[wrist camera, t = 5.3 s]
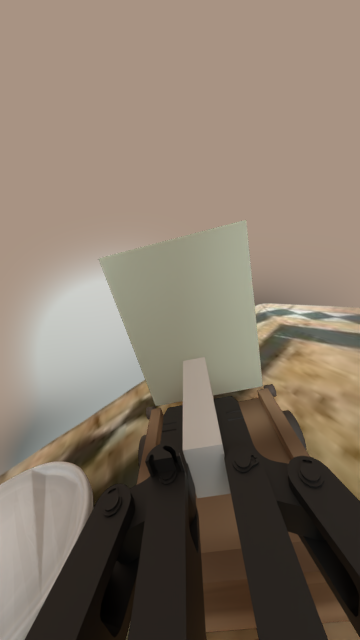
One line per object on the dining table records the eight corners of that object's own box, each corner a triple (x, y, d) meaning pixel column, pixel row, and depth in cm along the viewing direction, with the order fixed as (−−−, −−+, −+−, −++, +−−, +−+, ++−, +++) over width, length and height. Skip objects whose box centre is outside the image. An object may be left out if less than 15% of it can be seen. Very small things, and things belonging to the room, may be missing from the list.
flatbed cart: (395, 616, 10) (406, 562, 9) (124, 639, 12) (92, 594, 10) (278, 415, 23) (274, 378, 21) (155, 436, 24) (142, 402, 23)
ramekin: (139, 515, 17) (119, 472, 16) (-13, 885, 7) (-110, 872, 6) (50, 486, 21) (27, 450, 20) (-119, 696, 12) (-192, 658, 10)
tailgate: (262, 386, 21) (246, 220, 15) (155, 406, 22) (98, 258, 16) (258, 378, 22) (241, 221, 16) (156, 397, 23) (103, 256, 17)
